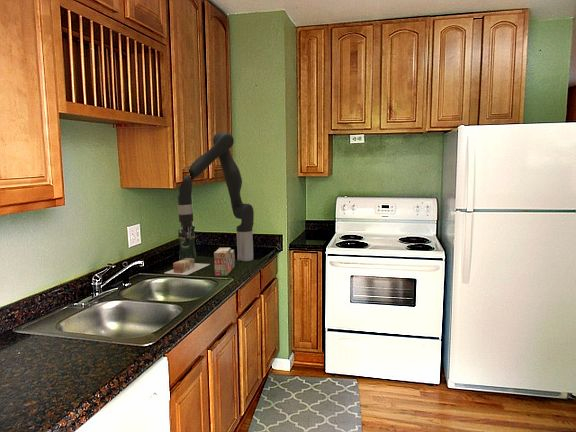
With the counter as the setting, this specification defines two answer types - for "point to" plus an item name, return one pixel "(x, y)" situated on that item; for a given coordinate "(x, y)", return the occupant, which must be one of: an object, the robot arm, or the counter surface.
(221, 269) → the printed cardboard box
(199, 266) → the grey mat
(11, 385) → the counter surface
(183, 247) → the coffee jar
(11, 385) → the counter surface
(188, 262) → the birch block
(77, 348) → the counter surface
